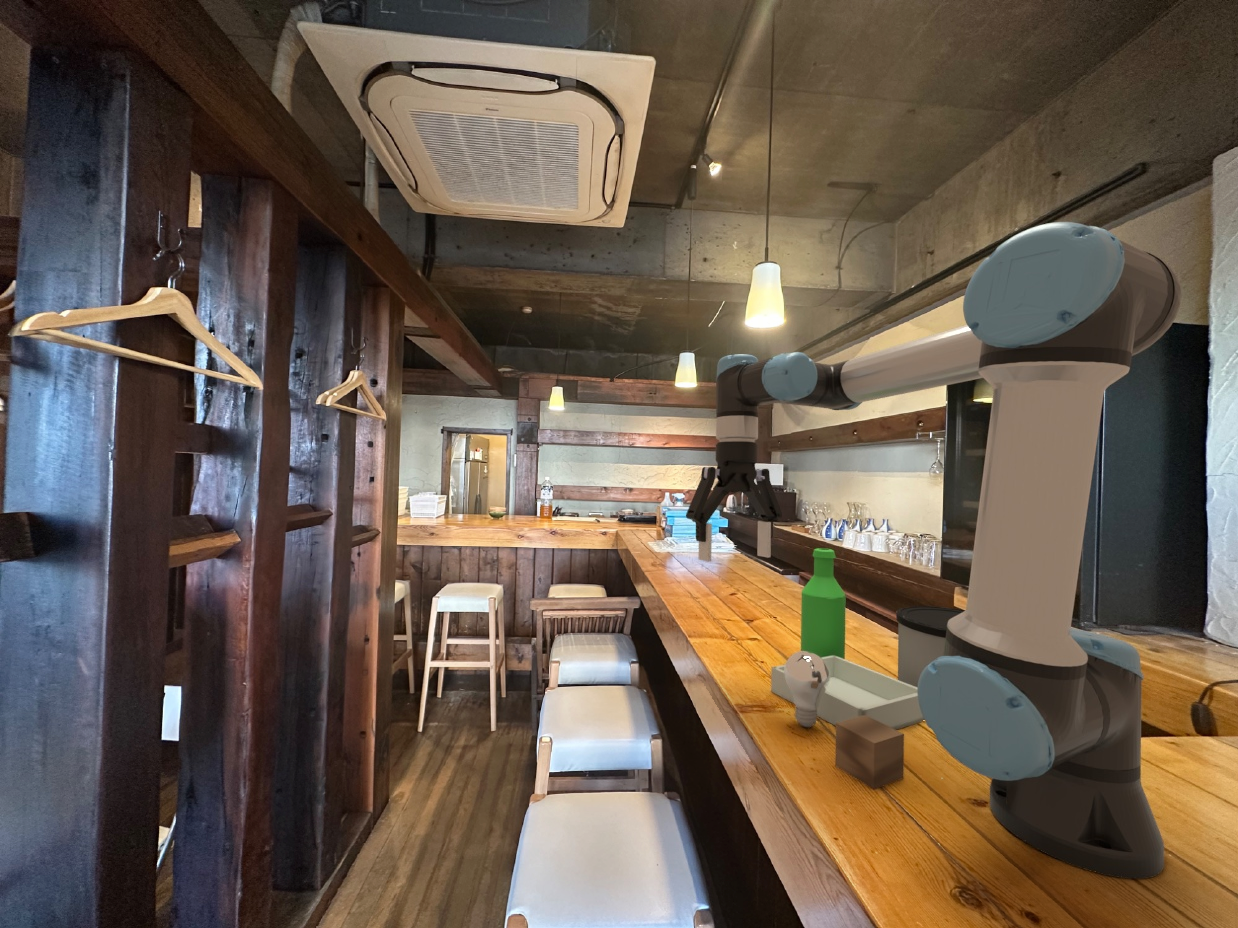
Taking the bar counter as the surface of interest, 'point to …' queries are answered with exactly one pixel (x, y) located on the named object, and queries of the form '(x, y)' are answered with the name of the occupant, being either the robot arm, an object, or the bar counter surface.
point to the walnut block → (869, 751)
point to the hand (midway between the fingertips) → (735, 558)
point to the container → (921, 639)
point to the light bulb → (806, 684)
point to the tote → (859, 695)
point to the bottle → (823, 609)
